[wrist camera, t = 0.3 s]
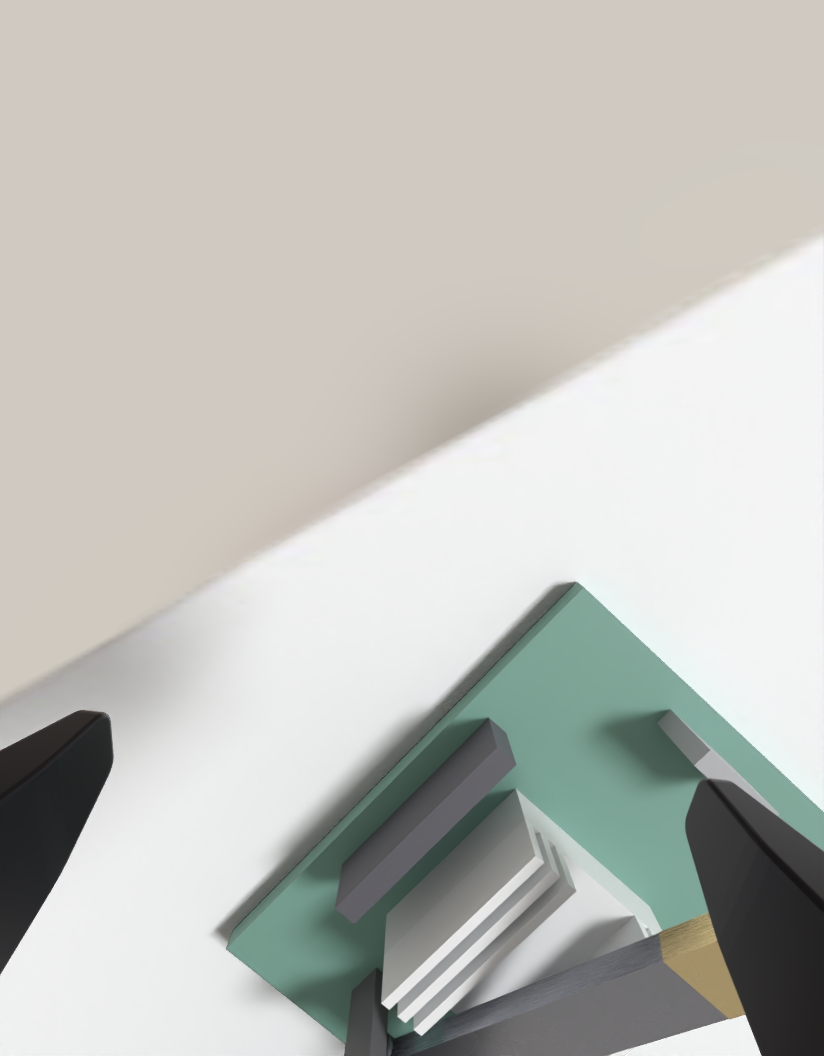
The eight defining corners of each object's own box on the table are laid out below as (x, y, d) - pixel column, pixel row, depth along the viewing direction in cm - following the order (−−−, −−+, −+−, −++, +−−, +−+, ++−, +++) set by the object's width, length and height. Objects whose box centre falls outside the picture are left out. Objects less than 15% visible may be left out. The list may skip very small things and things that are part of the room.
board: (488, 1134, 27) (504, 1285, 22) (233, 929, 26) (190, 1042, 21) (835, 824, 25) (938, 915, 20) (576, 581, 24) (619, 616, 19)
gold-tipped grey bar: (428, 1081, 24) (420, 1124, 23) (371, 1035, 24) (361, 1077, 22) (815, 951, 17) (835, 1006, 15) (739, 883, 16) (754, 932, 15)
